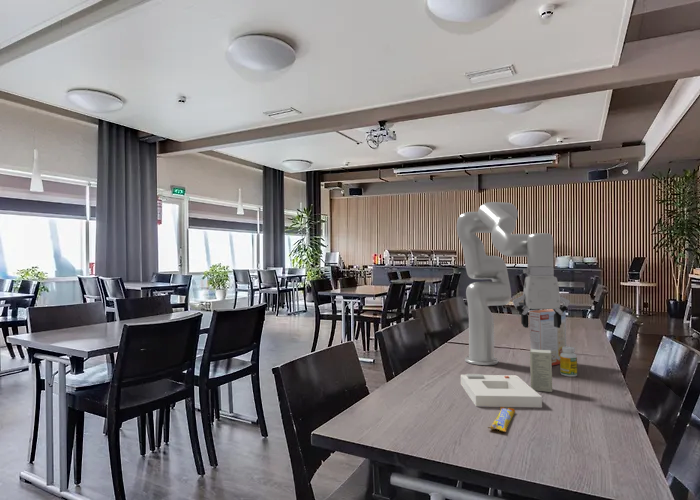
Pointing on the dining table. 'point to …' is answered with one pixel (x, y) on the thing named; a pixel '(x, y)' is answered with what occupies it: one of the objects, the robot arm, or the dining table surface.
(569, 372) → the supplement bottle
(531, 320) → the cracker box
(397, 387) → the dining table surface
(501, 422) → the candy bar
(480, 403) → the socket plate
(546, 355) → the skincare box
